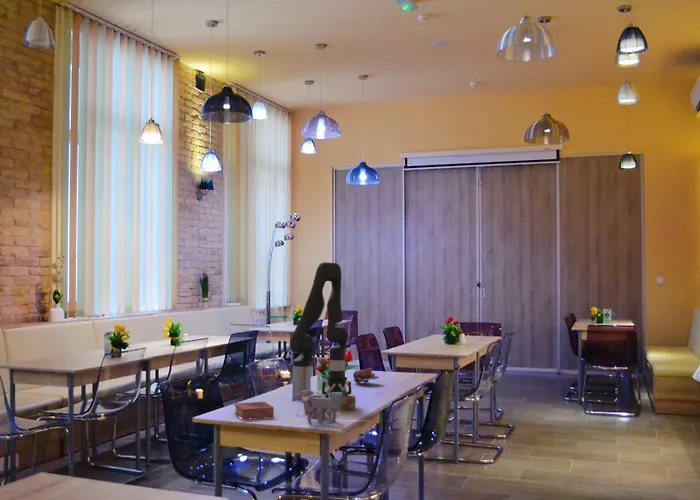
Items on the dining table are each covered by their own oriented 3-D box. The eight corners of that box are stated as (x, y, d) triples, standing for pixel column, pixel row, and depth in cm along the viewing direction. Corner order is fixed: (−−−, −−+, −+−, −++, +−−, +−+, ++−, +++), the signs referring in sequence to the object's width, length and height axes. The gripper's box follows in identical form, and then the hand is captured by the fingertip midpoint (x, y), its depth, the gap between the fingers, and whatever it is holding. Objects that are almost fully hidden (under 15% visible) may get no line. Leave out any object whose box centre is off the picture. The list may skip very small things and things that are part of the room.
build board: (330, 414, 329) (330, 411, 329) (328, 406, 347) (329, 404, 347) (356, 413, 330) (356, 411, 330) (353, 406, 348) (353, 404, 348)
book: (242, 421, 314) (242, 409, 314) (234, 414, 328) (234, 403, 328) (273, 418, 320) (274, 407, 320) (264, 412, 334) (264, 401, 334)
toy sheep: (287, 422, 310) (289, 391, 311) (297, 419, 320) (298, 388, 321) (330, 426, 304) (331, 394, 305) (339, 422, 314) (340, 391, 315)
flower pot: (314, 419, 318) (314, 399, 318) (297, 416, 323) (297, 397, 323) (326, 415, 326) (326, 396, 326) (309, 413, 331) (309, 394, 331)
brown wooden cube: (341, 411, 331) (341, 398, 331) (340, 408, 338) (340, 395, 338) (355, 411, 331) (355, 398, 332) (354, 408, 338) (354, 395, 338)
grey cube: (330, 406, 341) (331, 394, 341) (330, 404, 347) (330, 392, 347) (342, 406, 342) (342, 394, 342) (341, 404, 347) (342, 392, 347)
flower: (384, 379, 416) (378, 362, 417) (371, 385, 404) (366, 368, 405) (363, 383, 424) (358, 367, 425) (350, 390, 412) (345, 374, 413)
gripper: (322, 370, 340) (321, 404, 340) (352, 370, 341) (351, 404, 341) (321, 368, 348) (321, 401, 347) (351, 368, 349) (350, 401, 348)
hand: (336, 402), depth 344 cm, fingers open, 8 cm apart
